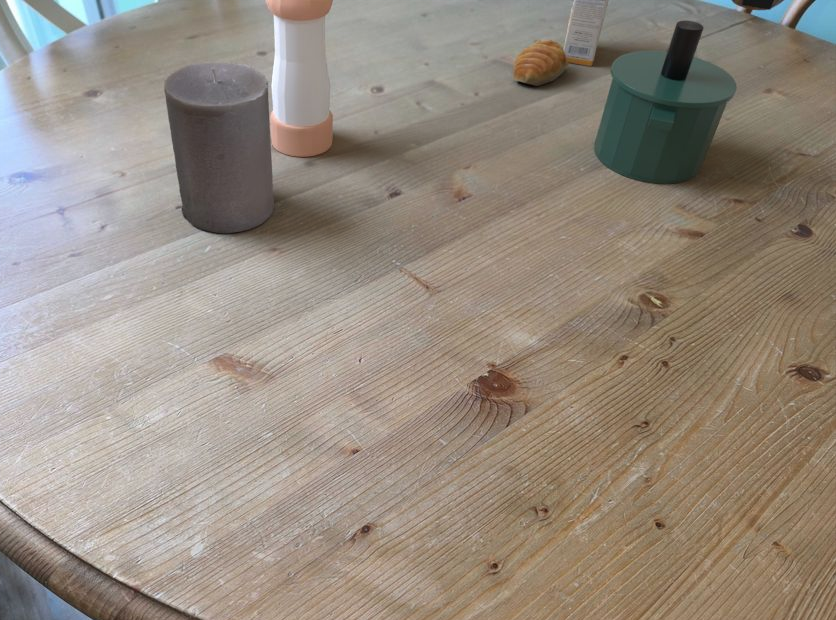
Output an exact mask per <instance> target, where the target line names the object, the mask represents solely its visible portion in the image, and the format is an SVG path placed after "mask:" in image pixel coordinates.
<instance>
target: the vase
mask: <svg viewBox="0 0 836 620" xmlns="http://www.w3.org/2000/svg"><path fill="white" fill-rule="evenodd" d="M731 1H732V3H733V4H735V5H736V6H738V7H741V8H743V9H746V10H747V9H748V10H751V11H752V10H753V11H770V10H769V9H763V8H757V7H751V6H745V5H741V2H742V0H731ZM784 1H785V0H774V2H773V4H772V7H771V9H774V8H775V7H777V6H779V5H780V4H782V3H783V2H784Z"/></svg>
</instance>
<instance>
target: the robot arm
mask: <svg viewBox="0 0 836 620" xmlns="http://www.w3.org/2000/svg"><path fill="white" fill-rule="evenodd" d="M773 2H774V0H742V2H741V5H745V6H751V7H757V8H763V9H769V10H768V11H771V9H772V8H771V7H772V4H773Z"/></svg>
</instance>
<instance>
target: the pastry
mask: <svg viewBox="0 0 836 620" xmlns="http://www.w3.org/2000/svg"><path fill="white" fill-rule="evenodd" d="M563 49H564V46H562V45H561V44H560V43H559V42H557V41H555V40H552V39H545V40H540V39H539V40H538V39H537V40H536V42H534V43H531V45H530V46H527V47H526V48H524V49H523V50H522V51H521V52H520V53H519V54H518V55H517V56H516V58H515V60H514V66H513V67H514V68H513V72H512V78H513V79H514V82H520V83H523V84H528V85H532V86H536V87H538V86H542V85H545V84H549V83H551V82H553V81H555V80H556V79H558V78H559V77H560V76H561V75H563V72H564V71H565V70H566V69H567V67H568V66H569V63H568V60H567V58H566V54H565V52H564V50H563Z"/></svg>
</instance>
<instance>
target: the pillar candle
mask: <svg viewBox="0 0 836 620" xmlns="http://www.w3.org/2000/svg"><path fill="white" fill-rule="evenodd" d="M163 88H164V89H163V90H164V95H165V103H166V104H165V105H166V110H167V117H168V118H167V119H168V123H169V130H170V137H171V144H172V150H173V154H174V161H175V169H176V176H177V181H178V182H177V183H178V187H179V188H178V189H179V194H180V195H179V196H180V200H181V205H182V206H181V213H182V216H183V218H184V219H185V220H186V221H187V222H188V223H189V224H190V225H192V226H193V227H196V228H197V229H200V230H202V231H206V232H210V233H217V234H233V233H242V232H244V231H249V230H251V229H254V228H256V227H258V226H260V225H262V224H263V223H265V222H266V221H267V220H268V219H269V218H270V217H271V216H272V214H273V212H274V209H275V199H274V182H273V179H274V178H273V162H272V161H273V160H272V159H273V158H272V141H271V122H270V104H269V103H270V102H269V81H268V79H267V78H266V75H264V74H263V73H261V72H260V71H259V70H257V69H255V68H253V67H252V66H250V65H248V64H244V63H236V62H227V61H206V62H205V61H204V62H197V63H193V64H189V65H186V66H183V67H181V68H178V69H176V70H174V71H173V72H172V73H170V74H169V75H168V76H167V78H166V79H165V80H164V86H163Z"/></svg>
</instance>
